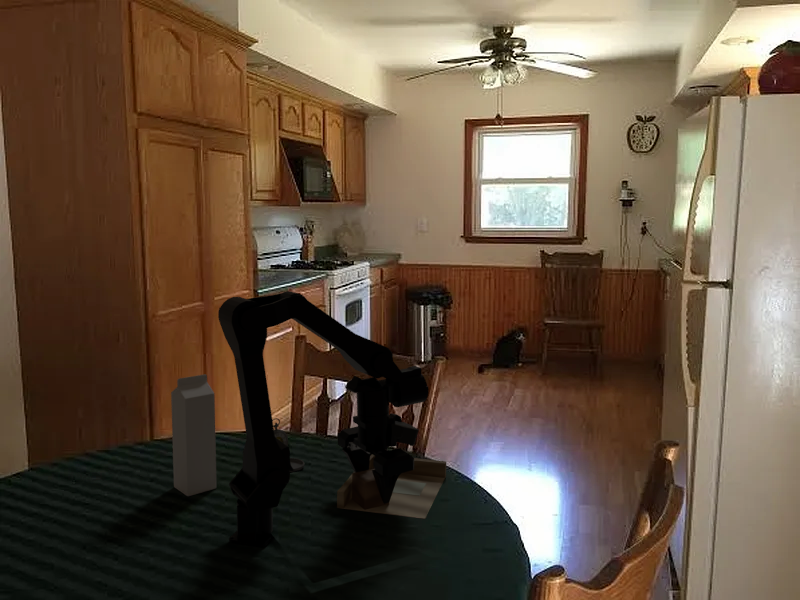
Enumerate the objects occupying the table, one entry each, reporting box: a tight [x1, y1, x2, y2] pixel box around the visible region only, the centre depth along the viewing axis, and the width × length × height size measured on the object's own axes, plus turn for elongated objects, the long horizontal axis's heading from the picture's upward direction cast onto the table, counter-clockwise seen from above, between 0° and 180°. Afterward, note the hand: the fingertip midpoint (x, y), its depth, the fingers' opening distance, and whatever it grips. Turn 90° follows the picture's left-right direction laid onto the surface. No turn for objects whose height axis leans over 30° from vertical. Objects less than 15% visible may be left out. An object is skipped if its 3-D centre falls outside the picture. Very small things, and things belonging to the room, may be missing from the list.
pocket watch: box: [272, 417, 305, 473], centre depth 142 cm, size 8×8×10 cm
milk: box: [170, 373, 217, 497], centre depth 130 cm, size 6×6×22 cm
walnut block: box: [351, 469, 389, 510], centre depth 123 cm, size 5×5×5 cm
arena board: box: [336, 454, 447, 520], centre depth 128 cm, size 20×16×4 cm
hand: (375, 494), depth 124 cm, fingers open, 8 cm apart
